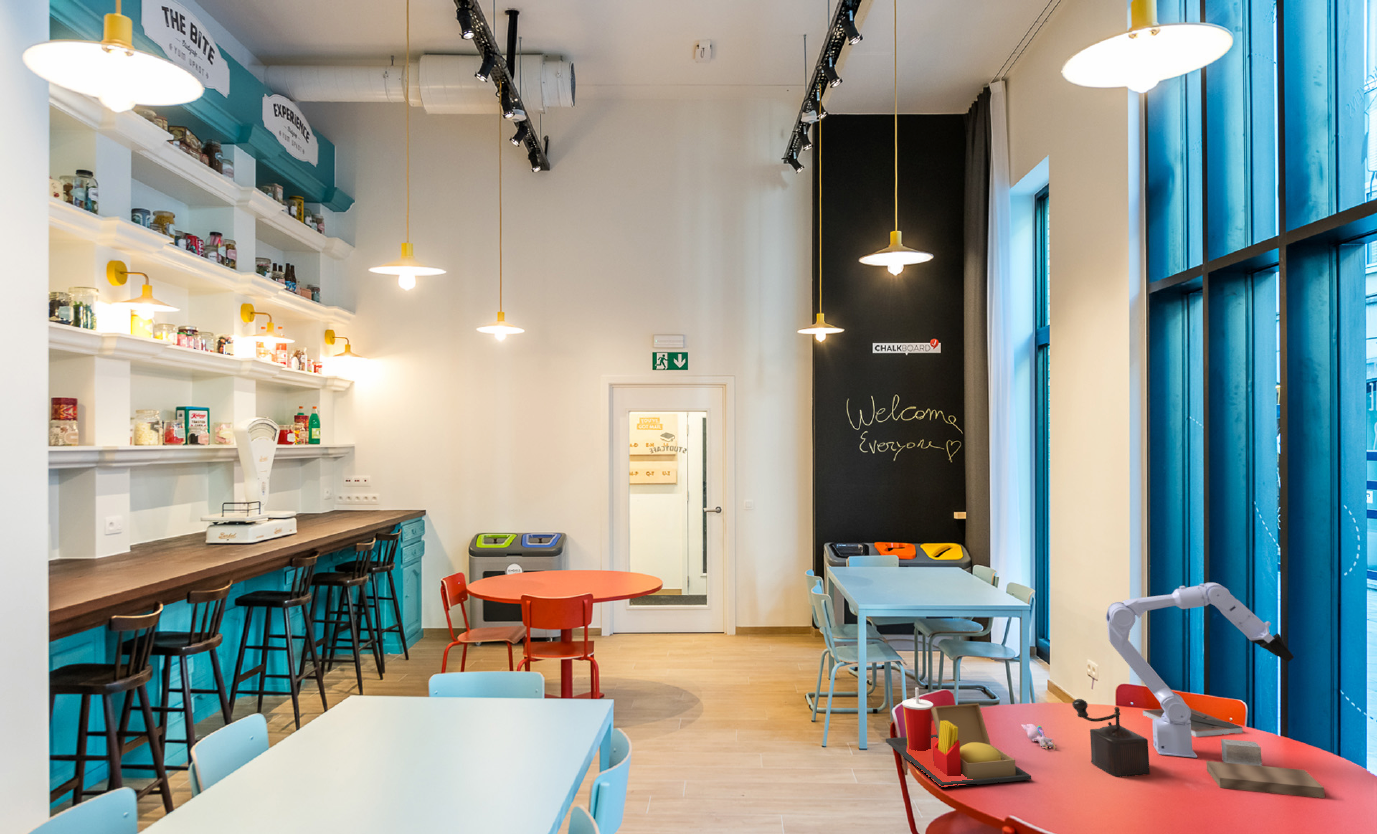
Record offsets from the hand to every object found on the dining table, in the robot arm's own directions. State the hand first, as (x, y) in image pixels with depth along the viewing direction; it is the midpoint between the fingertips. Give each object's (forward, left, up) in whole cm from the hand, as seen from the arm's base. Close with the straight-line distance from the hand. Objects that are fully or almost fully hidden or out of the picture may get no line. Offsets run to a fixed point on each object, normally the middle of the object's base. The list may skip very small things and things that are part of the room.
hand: (1285, 656), depth 217 cm
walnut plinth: (-12, -18, -29) cm, 36 cm away
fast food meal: (-88, -24, -30) cm, 96 cm away
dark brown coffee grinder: (-47, -18, -29) cm, 58 cm away
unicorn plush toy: (-64, -1, -29) cm, 70 cm away
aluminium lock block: (-13, -5, -29) cm, 32 cm away
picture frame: (-17, +31, -30) cm, 46 cm away
